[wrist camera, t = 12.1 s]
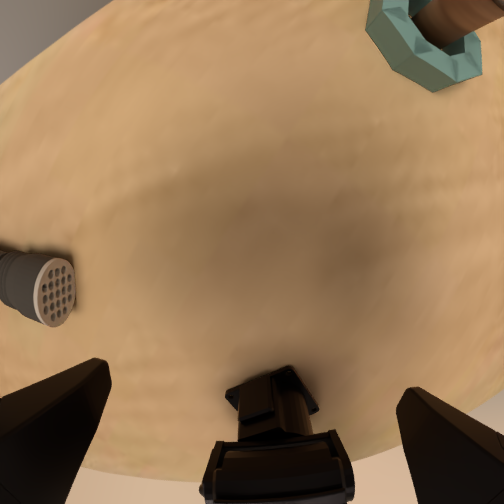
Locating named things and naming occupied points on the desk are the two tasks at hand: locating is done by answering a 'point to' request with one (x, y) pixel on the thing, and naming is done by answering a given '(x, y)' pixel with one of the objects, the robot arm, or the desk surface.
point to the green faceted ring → (420, 46)
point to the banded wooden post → (455, 19)
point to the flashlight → (37, 286)
